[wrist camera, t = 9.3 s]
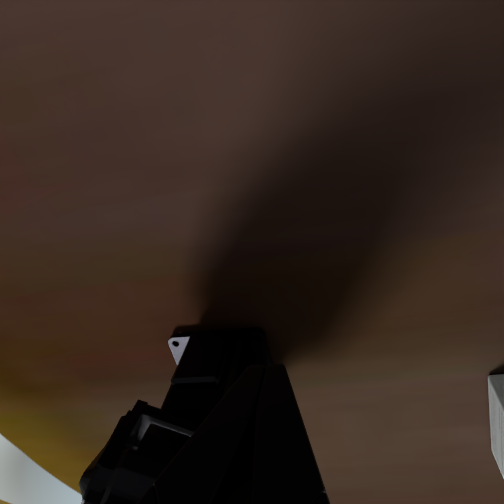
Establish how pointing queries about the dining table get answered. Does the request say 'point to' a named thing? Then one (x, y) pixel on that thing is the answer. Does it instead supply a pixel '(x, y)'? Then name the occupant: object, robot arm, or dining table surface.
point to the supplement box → (497, 417)
